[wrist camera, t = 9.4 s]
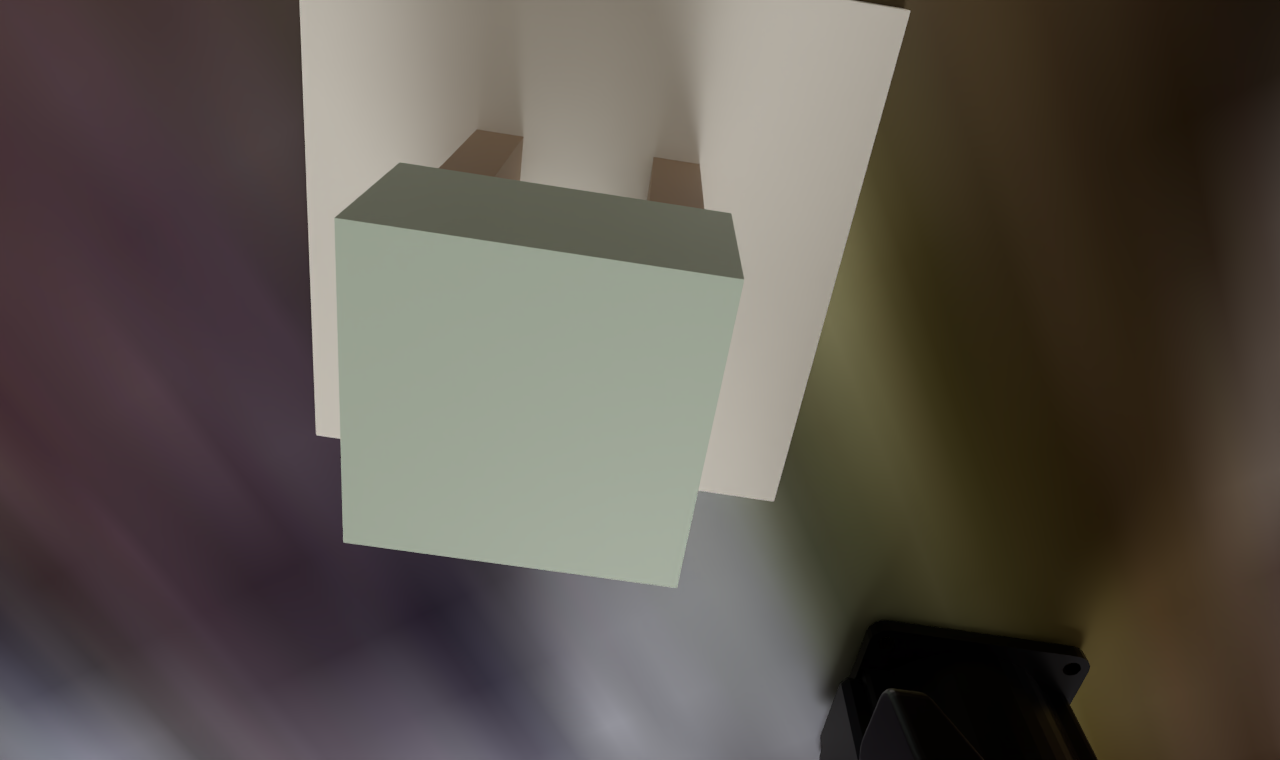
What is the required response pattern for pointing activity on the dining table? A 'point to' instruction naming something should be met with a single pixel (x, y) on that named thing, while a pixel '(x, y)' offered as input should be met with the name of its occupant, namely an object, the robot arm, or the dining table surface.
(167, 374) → the dining table surface
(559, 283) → the stool
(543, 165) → the mat
